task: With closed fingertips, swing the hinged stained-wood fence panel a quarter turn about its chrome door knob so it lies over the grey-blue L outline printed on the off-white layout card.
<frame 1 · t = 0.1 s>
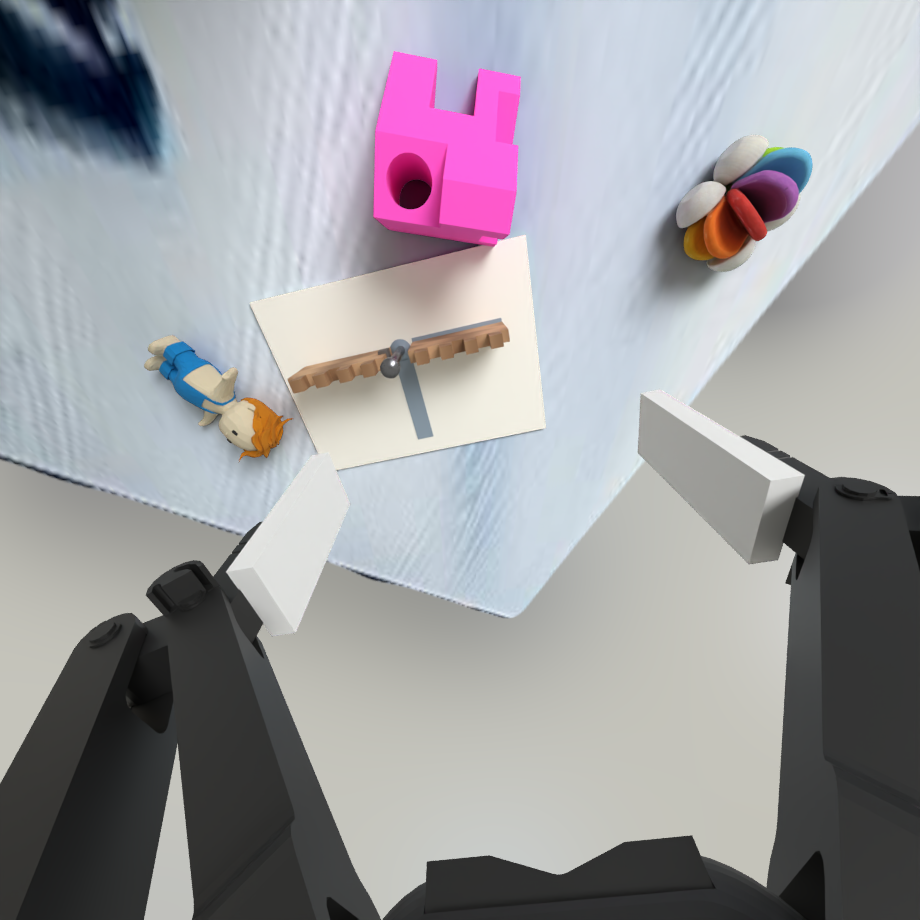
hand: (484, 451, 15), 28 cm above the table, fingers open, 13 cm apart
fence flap: (342, 369, 37), point 4 cm above the table, hinge at 0.0°
toy: (233, 393, 43), on the table
bracket: (449, 161, 32), on the table, touching layout card
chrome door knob: (401, 349, 40), resting on layout card
fence fixed: (457, 336, 40), resting on layout card
rainbow petal cluster: (719, 211, 35), on the table
layout card: (411, 370, 41), on the table
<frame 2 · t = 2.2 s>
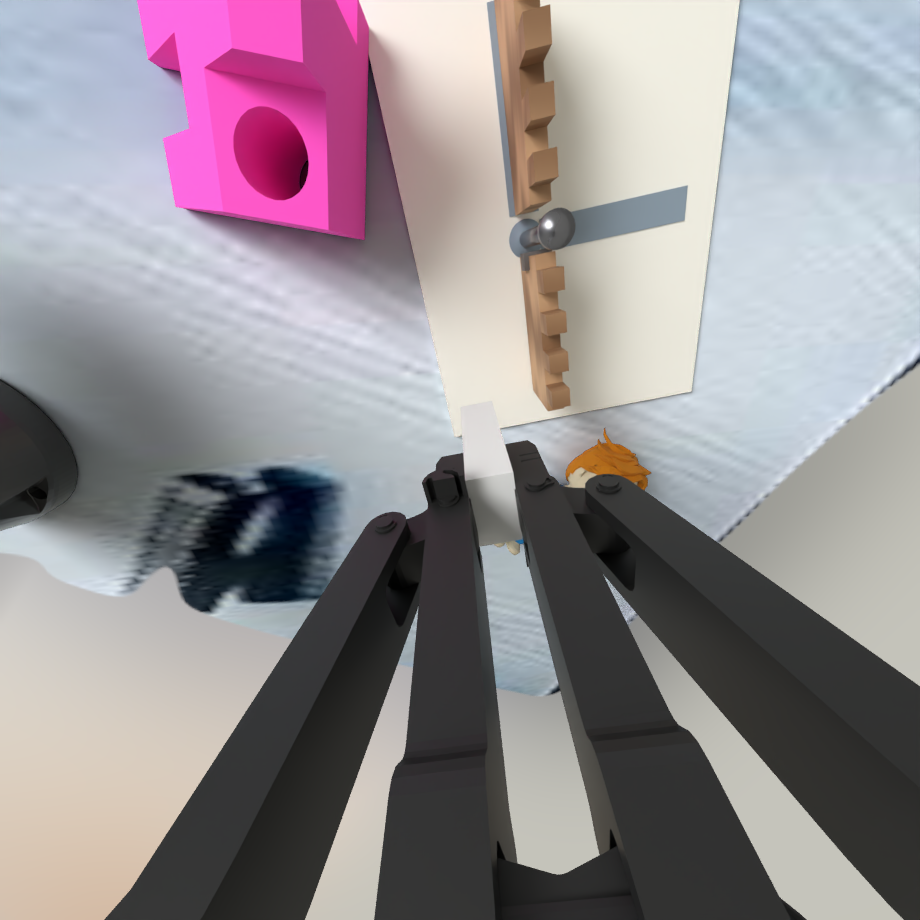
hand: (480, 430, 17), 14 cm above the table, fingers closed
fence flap: (544, 333, 25), point 4 cm above the table, hinge at 0.0°
toy: (556, 485, 36), on the table
bracket: (270, 127, 22), on the table, touching layout card
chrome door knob: (525, 239, 25), resting on layout card
fence fixed: (514, 120, 22), resting on layout card
layout card: (559, 223, 25), on the table
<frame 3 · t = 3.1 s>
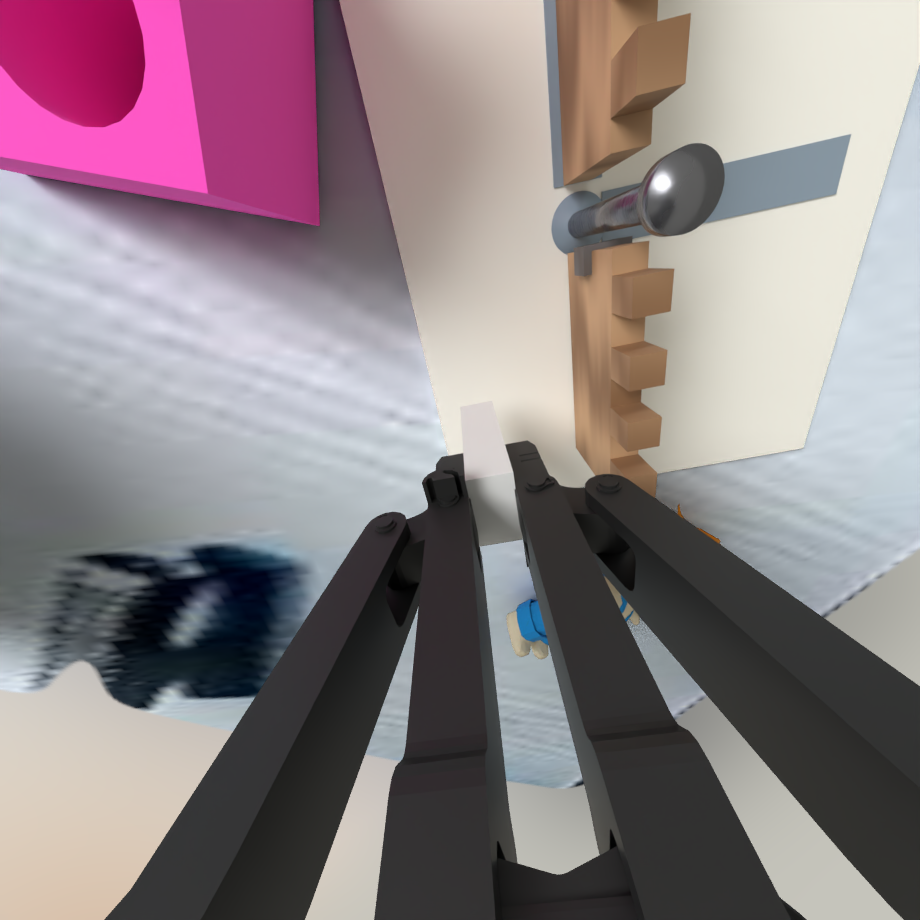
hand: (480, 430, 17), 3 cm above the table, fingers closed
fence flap: (609, 376, 15), point 4 cm above the table, hinge at 0.0°
toy: (599, 567, 27), on the table
bracket: (147, 28, 13), on the table, touching layout card
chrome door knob: (575, 225, 16), resting on layout card
fence fixed: (569, 16, 13), resting on layout card
layout card: (632, 199, 16), on the table
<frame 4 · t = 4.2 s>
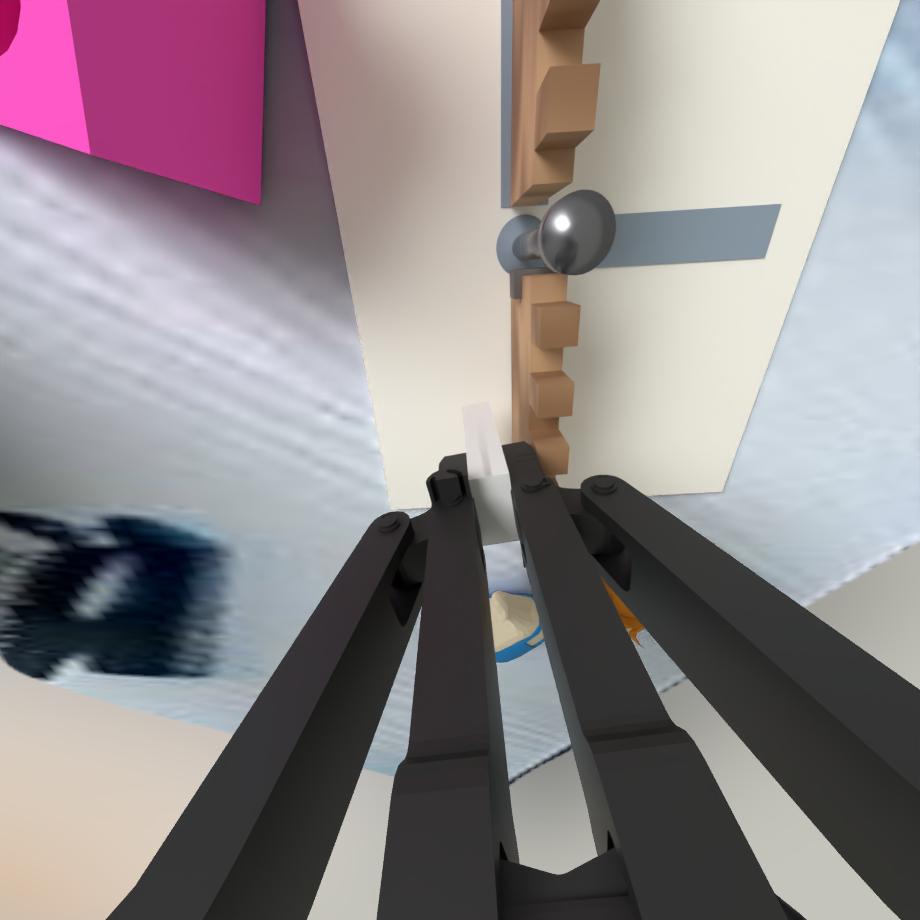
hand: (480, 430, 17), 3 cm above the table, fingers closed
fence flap: (535, 399, 16), point 4 cm above the table, hinge at 1.4°, touching gripper
toy: (527, 586, 28), on the table
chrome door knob: (521, 247, 16), resting on layout card
fence fixed: (526, 42, 13), resting on layout card
layout card: (577, 231, 16), on the table
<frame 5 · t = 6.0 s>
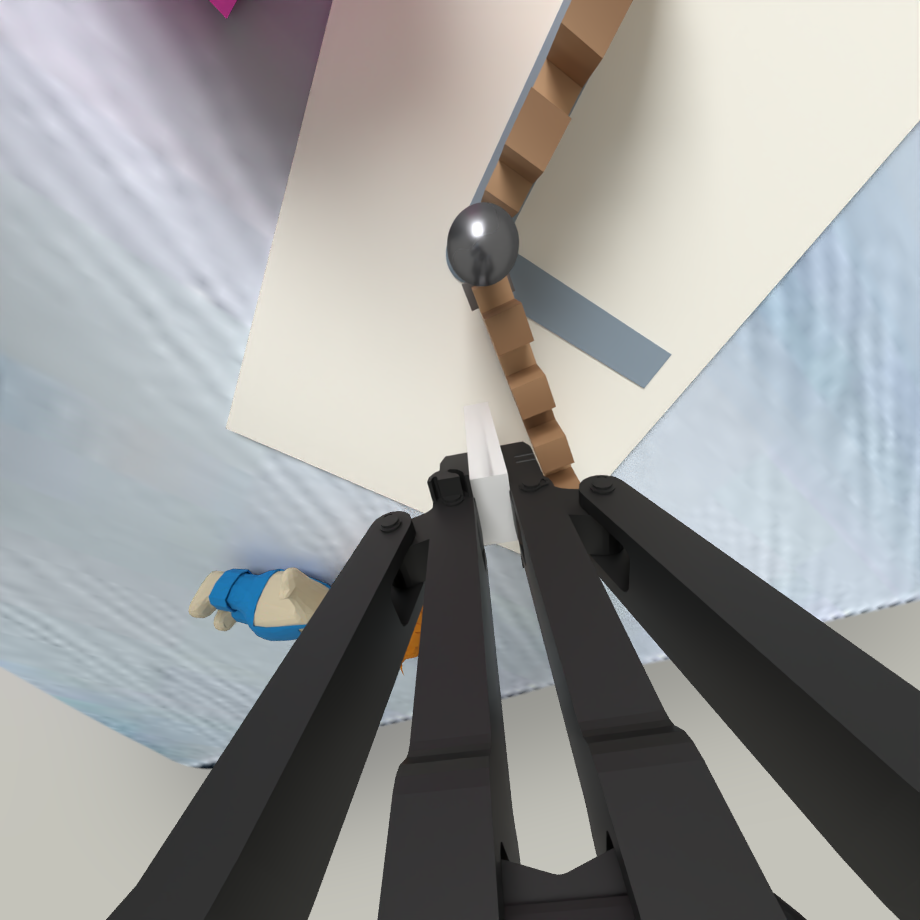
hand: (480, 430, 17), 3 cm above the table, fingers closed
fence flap: (528, 395, 16), point 4 cm above the table, hinge at 52.6°, touching gripper
toy: (335, 578, 27), on the table
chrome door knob: (472, 254, 16), resting on layout card
fence fixed: (556, 82, 14), resting on layout card
layout card: (524, 273, 17), on the table
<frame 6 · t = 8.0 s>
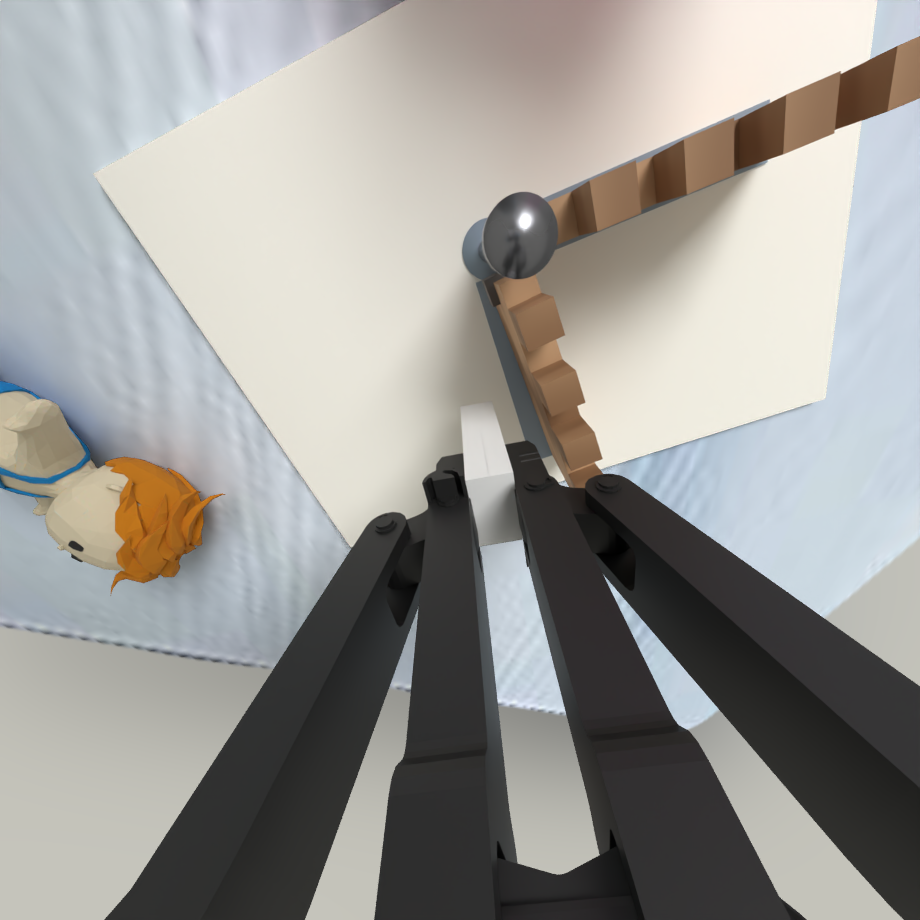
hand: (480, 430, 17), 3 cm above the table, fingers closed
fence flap: (549, 392, 15), point 4 cm above the table, hinge at 94.3°
toy: (103, 446, 21), on the table
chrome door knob: (488, 250, 16), resting on layout card
fence fixed: (634, 188, 15), resting on layout card
layout card: (514, 302, 17), on the table
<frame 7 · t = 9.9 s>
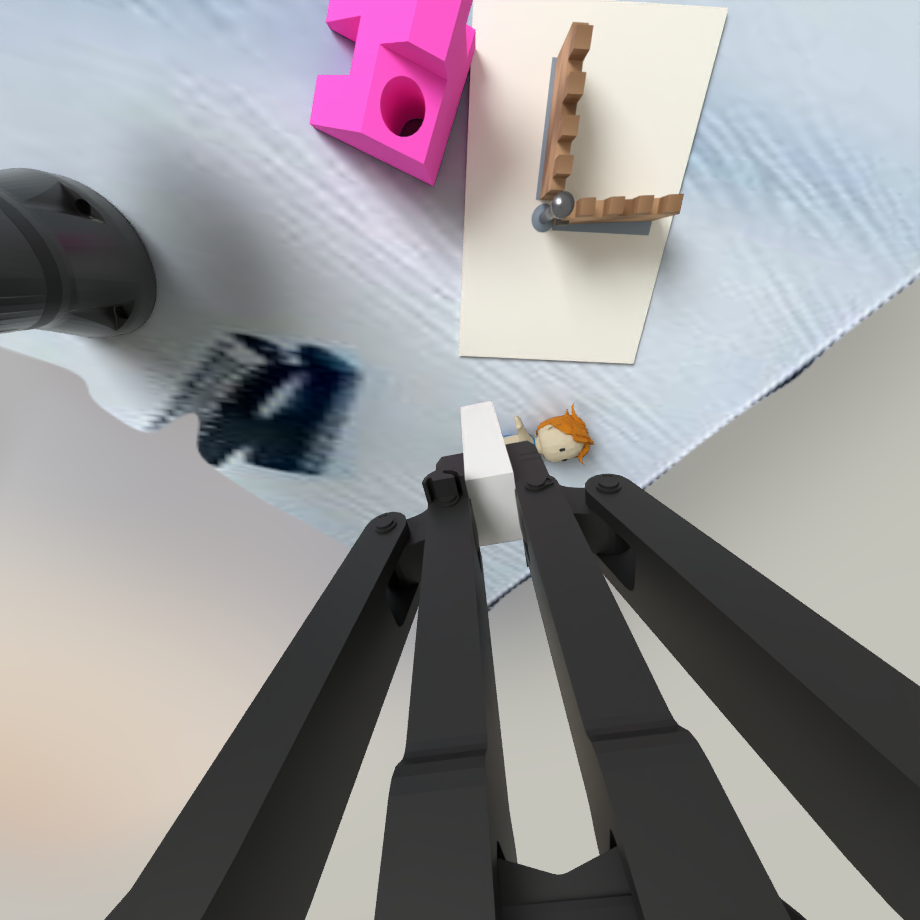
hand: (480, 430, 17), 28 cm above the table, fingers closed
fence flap: (615, 210, 33), point 4 cm above the table, hinge at 94.4°
toy: (526, 439, 48), on the table
bracket: (391, 90, 32), on the table, touching layout card
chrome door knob: (542, 218, 36), resting on layout card
fence fixed: (553, 135, 33), resting on layout card
layout card: (567, 214, 36), on the table
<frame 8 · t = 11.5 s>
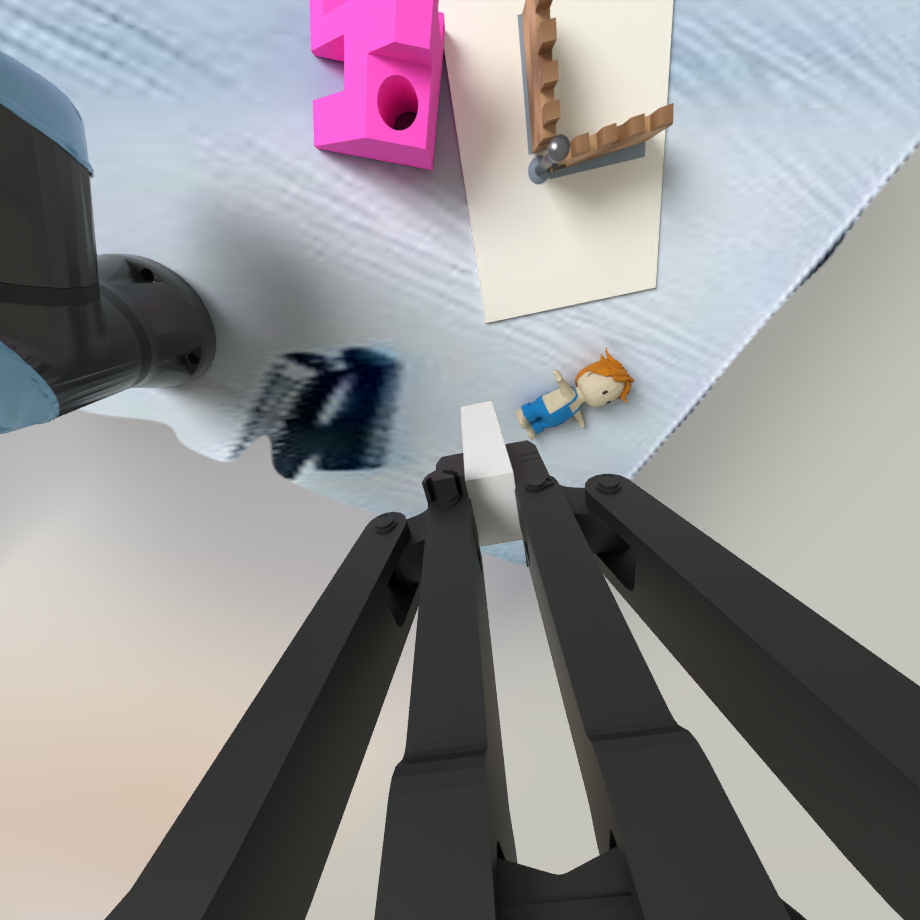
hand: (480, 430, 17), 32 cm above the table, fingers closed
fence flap: (608, 140, 34), point 4 cm above the table, hinge at 94.4°
toy: (566, 393, 51), on the table
bracket: (378, 93, 35), on the table, touching layout card
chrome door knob: (538, 170, 38), resting on layout card
fence fixed: (532, 88, 35), resting on layout card
layout card: (561, 159, 38), on the table
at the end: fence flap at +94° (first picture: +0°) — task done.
